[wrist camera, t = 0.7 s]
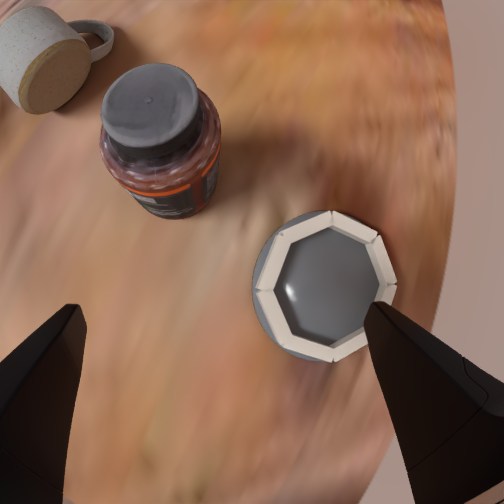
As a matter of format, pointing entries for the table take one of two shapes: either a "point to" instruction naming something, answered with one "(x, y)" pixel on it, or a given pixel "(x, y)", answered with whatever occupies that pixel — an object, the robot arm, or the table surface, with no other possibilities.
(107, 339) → the table surface
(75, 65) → the ceramic mug
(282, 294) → the ring seat
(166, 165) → the supplement bottle
